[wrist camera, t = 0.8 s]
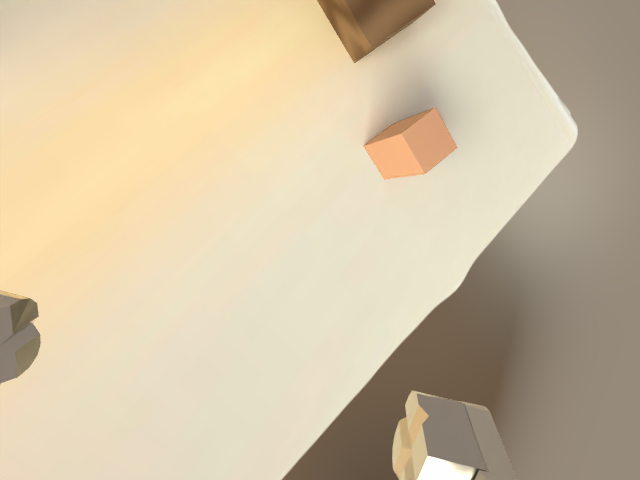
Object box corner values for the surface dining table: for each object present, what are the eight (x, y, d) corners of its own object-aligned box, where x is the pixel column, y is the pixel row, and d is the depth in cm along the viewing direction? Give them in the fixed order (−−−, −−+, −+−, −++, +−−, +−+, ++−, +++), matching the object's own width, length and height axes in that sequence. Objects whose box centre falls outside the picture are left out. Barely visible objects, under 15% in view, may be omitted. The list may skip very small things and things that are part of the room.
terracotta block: (363, 146, 48) (401, 133, 40) (392, 124, 49) (435, 107, 41) (384, 179, 49) (425, 174, 41) (411, 157, 50) (457, 147, 42)
